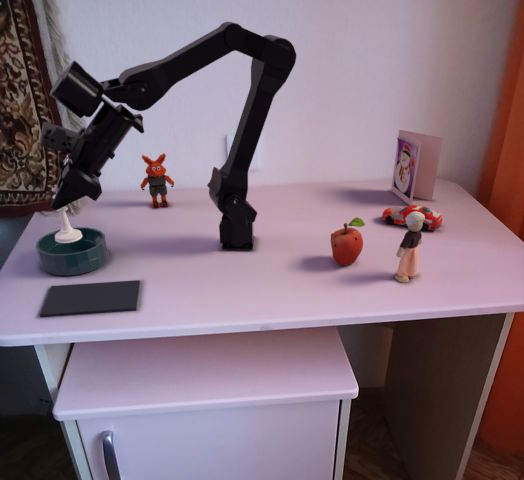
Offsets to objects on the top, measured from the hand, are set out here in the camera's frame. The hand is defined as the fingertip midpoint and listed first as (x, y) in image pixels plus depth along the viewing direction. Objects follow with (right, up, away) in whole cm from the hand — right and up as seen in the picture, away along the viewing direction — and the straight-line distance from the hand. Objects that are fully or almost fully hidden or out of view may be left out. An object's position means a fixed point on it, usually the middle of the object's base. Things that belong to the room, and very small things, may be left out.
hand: (52, 206), depth 97 cm
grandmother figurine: (+65, -12, +5) cm, 66 cm away
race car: (+71, +2, +25) cm, 75 cm away
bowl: (0, -8, +11) cm, 14 cm away
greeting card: (+75, +12, +38) cm, 85 cm away
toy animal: (+13, +9, +35) cm, 38 cm away
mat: (+8, -17, -1) cm, 18 cm away
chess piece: (+1, -5, +4) cm, 7 cm away
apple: (+54, -9, +9) cm, 56 cm away
